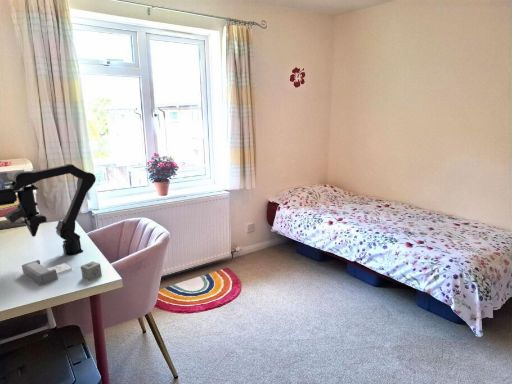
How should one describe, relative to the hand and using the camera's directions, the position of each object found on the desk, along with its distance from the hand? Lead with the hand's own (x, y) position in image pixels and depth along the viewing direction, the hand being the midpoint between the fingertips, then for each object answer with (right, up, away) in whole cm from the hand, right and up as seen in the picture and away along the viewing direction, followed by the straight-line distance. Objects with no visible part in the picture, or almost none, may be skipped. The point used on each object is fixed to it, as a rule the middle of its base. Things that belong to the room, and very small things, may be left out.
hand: (33, 236), depth 148 cm
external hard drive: (+13, -15, -9) cm, 22 cm away
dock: (+10, -15, -12) cm, 22 cm away
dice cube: (+32, -14, -14) cm, 37 cm away
